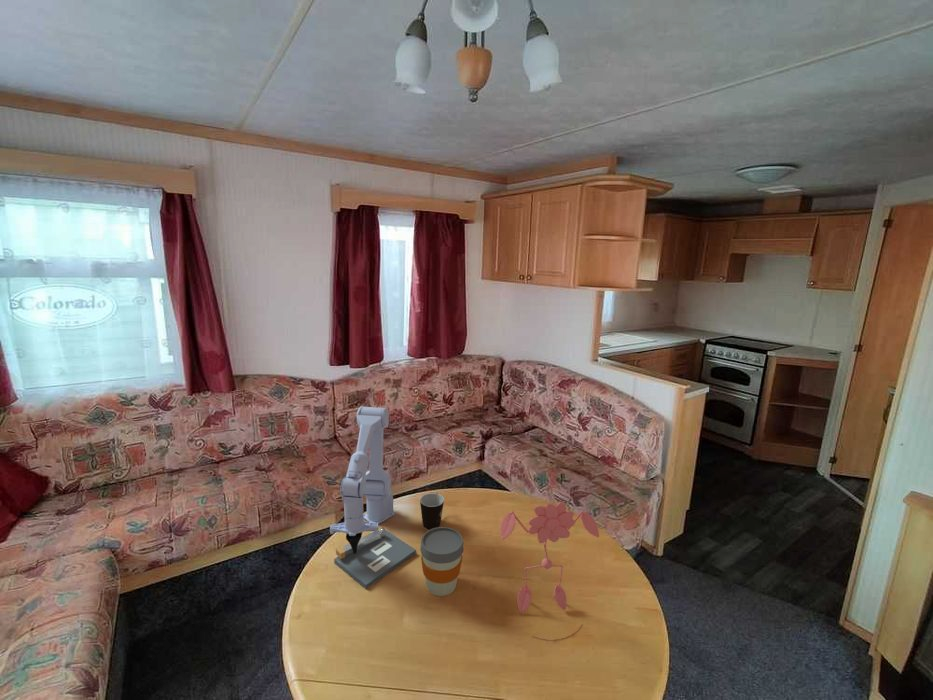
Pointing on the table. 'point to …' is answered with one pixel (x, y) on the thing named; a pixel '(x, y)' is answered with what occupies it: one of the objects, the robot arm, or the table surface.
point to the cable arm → (363, 542)
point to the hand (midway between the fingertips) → (355, 551)
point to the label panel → (375, 559)
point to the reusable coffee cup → (441, 559)
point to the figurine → (548, 526)
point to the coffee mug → (431, 510)
